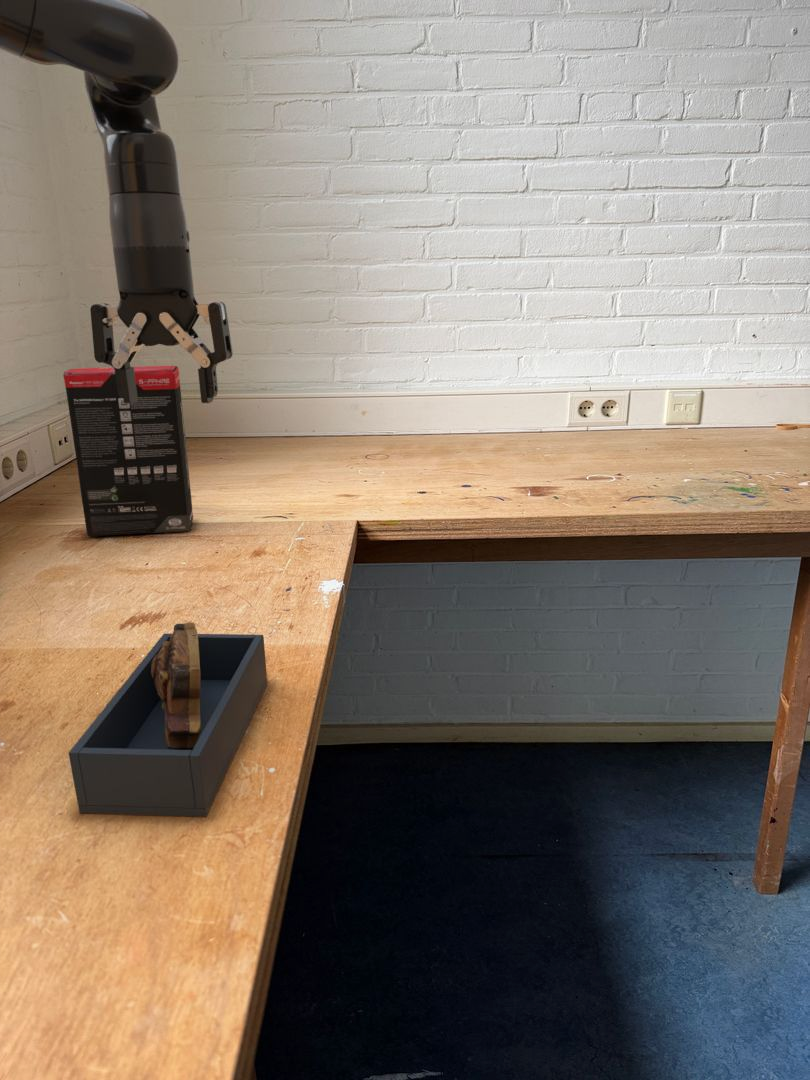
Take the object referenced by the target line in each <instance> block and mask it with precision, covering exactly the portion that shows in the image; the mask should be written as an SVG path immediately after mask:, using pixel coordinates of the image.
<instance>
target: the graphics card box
mask: <svg viewBox="0 0 810 1080" xmlns="http://www.w3.org/2000/svg"><path fill="white" fill-rule="evenodd" d="M133 367H134V374H135V381H136V389H137V397H138V399H137V402H134V403H132V404H125V403H124V400H123V398H120V397H119V395H118V391H117V383H116V376H115V370H114V368H113V367H112V366H111V367H91V368H89V367H86V368H69V369H68V370H65V371H64V372H63V374H62V377H63V380H64V381H63V382H64V386H65V387H64V388H65V393H66V401H67V407H68V414H69V419H70V420H69V421H70V426H71V433H72V441H73V446H74V447H73V448H74V452H75V453H74V454H75V457H76V458H75V459H76V466H77V474H78V481H79V490H80V496H81V504H82V510H83V517H84V525H85V531H86V536H87V537H102V536H121V535H123V536H124V535H141V534H161V533H164V534H165V533H185V532H189V531H191V528H192V526H193V525H192V524H193V521H194V512H193V502H192V501H193V500H192V489H191V481H190V471H189V463H188V451H187V441H186V432H185V421H184V410H183V400H182V399H183V398H182V392H181V391H182V390H181V379H180V369H179V366H177V365H163V366H162V365H155V366H153V365H152V366H151V365H150V366H133Z"/></svg>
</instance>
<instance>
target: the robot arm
mask: <svg viewBox="0 0 810 1080" xmlns="http://www.w3.org/2000/svg"><path fill="white" fill-rule="evenodd" d="M0 50H1V51H2V52H5V53H8V54H10V55H13V56H15V57H19V58H20V59H23V60H25V61H29V62H30V63H31V62H32V63H35V64H38V65H43V66H53V65H63V66H67V67H68V66H69V67H72V68H73V69H77V70H80V71H83V79H84V85H85V90H86V95H87V98H88V102H89V105H90V108H91V112H92V116H93V119H94V122H95V126H96V129H97V132H98V134H99V137H100V139H101V145H102V148H103V161H104V169H105V176H106V177H105V178H106V184H107V191H108V202H109V205H108V206H109V207H108V208H109V210H108V215H109V217H108V218H109V229H110V237H111V244H112V245H111V246H112V251H113V253H112V254H113V259H114V267H115V274H116V282H117V289H118V293H119V303H118V305H112V304H111V305H110V304H108V303H105V302H104V303H96V304H92V305H91V306H90V311H89V312H90V322H91V334H92V343H93V344H92V346H93V357H94V360H95V361H96V362H97V363H103V364H106V365H108V366H110V367H111V368H112V367H113V368H114V370H115V376H116V383H117V391H118V395H119V397H120V398H123V400H124V403H125V404H132V403H134V402H137V399H138V397H137V389H136V381H135V374H134V367H135V366H131V364H132V362H133V361H134V359H135V358H136V356H137V354H138V353H139V351H140V350H141V349H142V348H143V347H144V346H145V347H154V346H157V345H161V346H165V347H175V346H178V345H180V346H181V347H182V348H183V349H184V351H186V352H187V353H189V354H190V355H191V356H192V358H194V360H195V361H196V362H197V363H198V365H199V366H200V367H198V369H197V373H198V383H199V392H200V393H199V394H200V402H201V404H210V403H212V402H213V401H214V398H215V397H217V396H218V392H219V387H218V378H217V375H218V374H217V366H218V365H219V364H220V363H222V362H225V361H227V360H229V359H231V358H232V357H233V346H232V340H231V332H230V327H229V319H228V313H227V306H226V304H225V302H224V301H214V302H211V303H203V304H199V303H198V302H197V300H196V297H195V290H194V280H193V271H192V261H191V250H190V241H191V239H190V232H189V230H188V222H187V216H186V211H185V207H184V203H183V196H182V185H181V177H180V168H179V159H178V158H179V157H178V153H177V149H176V145H175V142H174V140H173V138H172V137H171V136H170V135H169V133H167V132H164V131H163V129H162V125H161V120H160V115H159V110H158V105H157V99H156V98H157V96H159V95H161V94H163V93H164V92H165V91H167V90H168V89H169V88H170V87H171V86H172V84H173V83H174V82H175V80H176V79H177V75H178V72H179V68H180V57H179V55H180V54H179V51H178V48H177V45H176V42H175V40H174V38H173V36H172V35H171V33H170V31H168V29H167V27H165V26H164V24H163V23H162V22H161V21H160V20H158V19H157V18H156V17H155V16H153V15H152V14H151V13H149V12H147V11H146V10H144V9H142V8H140V7H138V6H136V5H134V4H132V3H129V2H127V1H124V0H0ZM200 316H201V317H203V321H204V323H205V324H207V325H210V331H211V338H212V344H213V351H212V350H211V348H209V346H208V345H207V344H206V342H205V339H204V337H202V335H201V334H199V332H198V331H197V330H196V329H195V328H194V326H195V324H196V322H197V321H198V319H199V317H200ZM118 318H119V319H120V320H121V322H122V323H123V324H124V325H125V327H126V328H127V331H126V332H125V334H124V336H123V338H122V339H121V341H120V343H119V347H118V349H117V350H116V351H115V341H114V340H115V337H114V328H113V326H115V324H117V319H118Z"/></svg>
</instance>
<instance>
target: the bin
mask: <svg viewBox="0 0 810 1080" xmlns="http://www.w3.org/2000/svg"><path fill="white" fill-rule="evenodd" d="M172 634H173V633H163V634H162V635H161V636H160V638H159V639H158V640H157V642H155V644H154V645H153V647H152V648H151V649H150V650H149V652H148V653H147V654H146V655H145V656H144V658H143V659H142V660H141V661H140V663H139V664H138V665H137V666H136V667H135V669H134V670H133V672H132V673H131V674H130V675H129V677H128V678H127V679H126V680H125V682H123V684H122V685H121V687H120V688H118V690H117V691H116V693H115V694H114V695H113V696H112V698H111V699H110V700H109V702H108V703H107V704H106V705H105V707H104V708H103V709H102V710H101V711H100V712H99V714H97V716H96V718H95V719H94V720H93V722H92V723H91V724H90V725H89V726H88V728H87V729H86V730H85V731H84V732H83V734H82V735H81V736H80V738H79V739H78V740H77V741H76V742H75V744H74V745H73V746H72V748H71V749H70V750H69V751H68V758H69V763H70V764H69V765H70V768H71V774H72V780H73V785H74V790H75V791H74V792H75V796H76V802H77V806H78V807H77V808H78V812H79V814H91V815H93V814H94V815H123V816H124V815H127V816H128V815H129V816H160V817H161V816H163V817H164V816H166V817H168V816H169V817H195V818H201V817H202V818H206V817H207V816H208V815H209V812H210V810H211V807H212V805H213V803H214V802H215V799H216V797H217V795H218V792H219V790H220V788H221V786H222V784H223V782H224V779H225V778H226V775H227V773H228V771H229V768H230V766H231V764H232V762H233V760H234V758H235V756H236V753H237V751H238V750H239V747H240V744H241V743H242V740H243V738H244V736H245V733H246V731H247V730H248V727H249V725H250V723H251V721H252V719H253V716H254V714H255V712H256V709H257V707H258V705H259V703H260V701H261V699H262V697H263V694H264V692H265V690H266V688H267V686H268V674H267V662H266V661H267V659H266V650H265V639H264V634H248V633H247V634H241V633H240V634H238V633H237V634H235V633H224V634H223V633H197V635H198V643H199V659H200V678H201V679H200V719H201V732H200V738H199V739H198V741H197V743H196V745H195V747H194V749H187V748H176V749H169V748H168V747H167V745H166V739H165V711H164V710H163V708H162V704H163V702H164V701H163V700H162V699H161V698H160V696H159V695H158V692H157V689H156V686H155V681H154V679H153V678H152V674H151V664H152V660H153V658H154V657H155V655H156V654H158V653H159V651H160V650H161V648H162V646H163V643H164V642H165V641H170V638H171V636H172Z"/></svg>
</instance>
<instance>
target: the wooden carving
mask: <svg viewBox="0 0 810 1080" xmlns="http://www.w3.org/2000/svg"><path fill="white" fill-rule="evenodd" d="M171 634H172V636H171V638H170V641H165V642H164V643H163V646H162V648H161V650H160V651H159V653H158V654H156V655H155V657H154V658H153V660H152V664H151V674H152V678H153V679H154V681H155V686H156V689H157V692H158V695H159V696H160V698H161V699H162V700H163V701H164V702H163V704H162V708H163V710H164V711H165V739H166V745H167V747H168V748H169V749H176V748H187V749H194V747H195V745H196V743H197V741H198V739H199V738H200V732H201V719H200V679H201V678H200V659H199V643H198V635H197V634H198V630H197V628H196V623H195V622H192V621H191V622H184V623H175V624H174V625H173V632H172V633H171Z"/></svg>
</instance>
